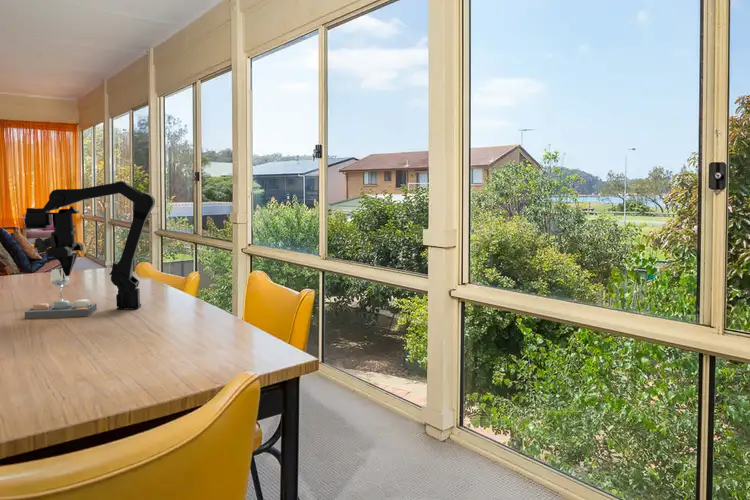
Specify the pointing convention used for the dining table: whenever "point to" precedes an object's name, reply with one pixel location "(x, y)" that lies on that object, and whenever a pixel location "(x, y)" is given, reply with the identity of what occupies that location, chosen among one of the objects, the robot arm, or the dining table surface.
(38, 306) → the terracotta button
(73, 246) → the robot arm
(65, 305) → the slate button
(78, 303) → the cream button
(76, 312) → the button panel
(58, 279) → the wineglass
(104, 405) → the dining table surface
